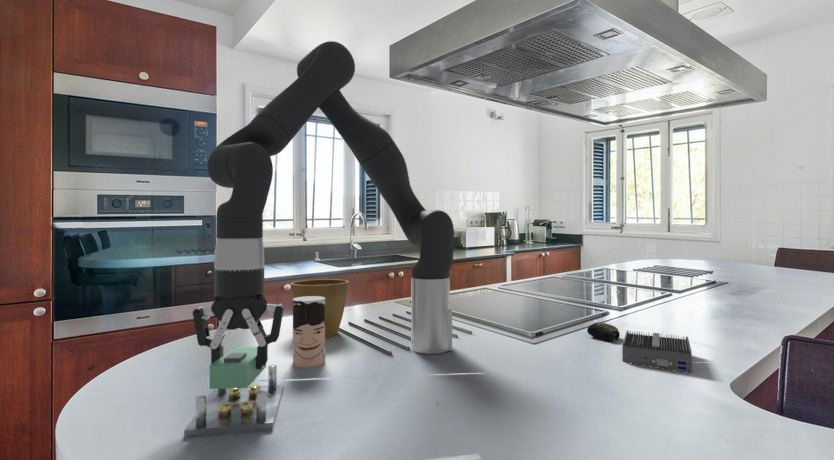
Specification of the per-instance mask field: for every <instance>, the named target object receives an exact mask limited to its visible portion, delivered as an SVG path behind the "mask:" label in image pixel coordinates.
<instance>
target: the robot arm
mask: <svg viewBox="0 0 834 460" xmlns="http://www.w3.org/2000/svg"><path fill="white" fill-rule="evenodd" d="M355 72H356V63H355V60H354V57H353V56H352V53H351V51H350V50H349V49H348V48H347V47H346V46H345V45H344V44H343V43H340V42H338V41H336V40H326V41H324V42H321V43H319V44H318V45H316V47H314V48H313V49H312V50H311V51H309V52H308V53H307V54H306V55H305V56H304V57H302V58H301V59H300V61H299V62H298V63H297V67H296V73H297V78H296V79H295V80H294V81H293V82H292V83H290V85H289V86H287V87H286V88H284V90H282V91H281V92H280V93H278V95H277V96H275V97H274V98H273V99H272V100H271V101H269V102H268V103H267V104H266V105H265V106H264V107H263V108H262V109H261V110H260V111H259V112H258V114H256V115H255V116H254V118H252V120H251V121H250V122H249V123H248V124H246V125H245V126H244V127H242V128H241V129H239V130H237V131H236V132H234V133H233V134H231V135H230V136H228V137H227V138H226V139H224V140H223V141H221V142H220V143H219V144H218V145H217V146H215V148H214V149H213V150H212V152H211V153H210V154H209V157H208V160H207V162H206V163H207V164H206V168H207V169H206V170H207V173H208V176H209V178H210V179H211V181H212V182H213V183H215V184H216V185H217V186H219V187H222V188H226V189H232V192H231V195H230V198H229V199H228V200H226V201H225V202H223V203H221V204H220V205H219V206H218V208H217V210H216V216H215V217H216V220H215V222H216V229H215V230H216V231H215V232H216V242H215V248H214V259H213V267H214V299H213V303H212V304H211V305H208V306H201V305H200V306H198V307H196V308H194V309H193V311H192V316H193V323H194V329H195V335H196V339H197V345H199V346H200V347H204V346H205V347H208V348H209V349H210V351H211V352H210V354H211V355H210V357H211V358H210V359H211V360H210V361H211V362H210V365H211V364H213V363H214V362H215V361H217V360H218V359H220V358H221V357H222V356H223V355H224V345H222V342H223V341H224V339H225V337H226V334H227V333H228V331H233V330H237V329H241V330H250V332H251V334H252V335H253V336H254V338H255V341H256V343H257V344H258V345H257V346H256V347H257V369H262V368H263V365H266V366H267V362H268V359H269V358H268V355H269V354H268V353H269V352H268V350H269V349H268V347H269V344H271V343H276V342H277V341H278V339H279V337H280V332H281V326H282V323H283V316H284V315H283V314H284V308H285V305H284V304H283V303H277V304H273V303H268V302H267V300H266V298H265V248H264V247H265V246H264V238H263V236H264V234H263V233H264V220H263V215H264V211H265V207H266V206H267V205H266V204H267V201H268V198H269V197H268V196H269V192H270V189H271V185H272V180H273V172H274V170H273V169H274V168H273V166H274V165H273V161H272V157H273V156H276V155H278V154H279V153H281V152H282V151H284V149H285V148H286V147H287V146H288V145H289V144H290V142H291V141H292V140H293V139H294V138H295V136H296V135H297V134H298V133H299V131H300V130H301V129H302V128H303V126H305V124H306V123H307V121H309V119H310V118H311V117H312V115H314V113H315V112H316V111H317V110H318V108H319V110H320V111H321V112H322V113H323V115H324V116H325V117H326V118H327V119H328V121H329V122H330V123H331V125H332V126H333V127H334V128H335V130H336V132H337V133H339V136H340V137H341V139H342V140H343V141H344V143H345V144H346V145H347V146H348V148H349V149H350V150H351V153H352V154H353V156H354V157H355V159H356V160H357V161H358V164H360V166H361V168H362V170H363V171H364V172H365V173H366V175H367V177H368V178H369V179H370V180H371V182H372V183H373V185H374V186H375V188H376V189H377V191H378V192H379V193H380V195H381V196H382V197H383V200H384V201H385V202H386V204H387V205H388V207H389V208H390V210H391V211H392V213H393V215H394V217H395V219H396V221H397V223H398V224H399V226H400V228H401V230H402V232H403V234H404V236H405V237H406V238H407V240H408V241H409V243H410V244H411V245H412V246H414V247H416V248H418V249H419V248H420V249H419V251H420V252H419V258H418V260H417V262H415V263H414V264H413V265H412V266H411V268H410V271H411V272H410V277H411V278H410V285H411V286H410V291H411V292H410V293H411V294H410V297H411V298H410V299H411V301H410V303H411V304H410V306H411V307H410V308H411V309H410V318H411V319H410V320H411V322H410V324H411V325H410V327H411V328H410V330H411V331H410V337H411V338H410V344H411V347H410V348H411V350H412V351H413V352H414V353H419V354H425V355H426V354H427V355H435V354H436V355H439V354H444V353H447V352H453V311H452V309H450V305H451V304H450V303H451V302H450V301H451V300H450V292H451V291H450V288H451V287H450V281H451V280H450V278H451V277H450V273H451V268H452V267H453V262H454V245H455V243H454V242H455V228H454V224H453V220H452V218H451V216H450V215H449V214H448V213H447V212H445V211H443V210H440V209H436V210H435V209H430V210H427V209H426V208H425V206H423V205H422V203H421V202H420V200H419V199H418V197H417V196H416V194H415V193H414V192H413V191H414V190H413V189H412V186H411V181H410V176H409V172H408V167H407V162H406V159H405V157H404V155H403V153H402V151H401V150H400V148H399V147H398V145H397V144H396V143H395V141H394V139H393V138H392V136H391V135H390V134H389V132H387V130H385V129H384V128H382V127H381V126H380V125H378V124H376V123H375V122H373V121H372V120H370V119H368V117H365V116H364V115H362V114H360V113H359V112H358V111H357V110H355V108H354V107H353V106H352V105H351V104H350V103H349V101H348V100H347V99H346V97H345V96H344V95H343V93H342V91H341V90H342V89H343V88H344V87H346V86H347V85H348V84H349V83H350V82H351V81H352V79H353V77H354V75H355ZM266 311H267V312H268V314H269V317H270V318H272V325H271V329H270V333H268V334H267V333H266V331H265V329H264V326H263V322H262V321H261V317H262V316H263V315H264V314H265V312H266ZM211 313H212V314H213V315H214V316H215V317H216V319H217V320H218V321H219V325H218V326H217V328H216V331H215V333H214V336H211V335H210V329H209V323H208V320H209V319H210V318H211Z"/></svg>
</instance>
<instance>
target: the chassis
mask: <svg viewBox="0 0 834 460" xmlns="http://www.w3.org/2000/svg"><path fill="white" fill-rule="evenodd" d="M267 368H268V369H267V370H268V372H267V373H268V375H267V377H268V378H267V379H268V380H267V381H268V385H259V384H254V385H253V384H252V385H249V386H248V387H247V388H224V389H212V391H211V393H210V394H209V395H208V397H207V395H203V394H202V395H197V396H196V397H195V415H194V416H193V418H192V419H191V420H190V422H189V423H188V425H186V427H185V429H184V430H183V438H184V439H186V438H189V439H190V438H199V437H210V436H220V435H222V436H223V435H234V434H235V435H236V434H244V433H257V432H258V433H259V432H268V431H269V432H271V431H274V427H275V422H276V419H277V415H278V412H279V408H280V403H281V400H282V396H283V392H284V388H285V384H277V383H278V382H277V381H278V380H277V369H278V367H277V365H276V364H271V365H268V367H267Z"/></svg>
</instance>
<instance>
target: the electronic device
mask: <svg viewBox="0 0 834 460" xmlns="http://www.w3.org/2000/svg"><path fill="white" fill-rule="evenodd" d="M621 345H622V348H621V349H622V354H621V355H622V362H623V363H627V364H628V363H632V364H631V365H634V364H639V365H638V366H640V365H645V366H644V367H646V366H652V367H659V368H664V369H663V370H665V369H670V370H669V371H671V370H676V371H675V372H677V371H680V372H679V373H683V372H688V373H687V374H690V373H693V372H692V371H693V369H692V368H693V367H692V364H693V363H692V361H693V359H692V357H693V356H692V351H693V350H692V347H691V345H690V339H689V336H687V335H685V336H684V335H683V337H682V336H679V335H678V336H677V334H676V335H674V334H673V336H672V334H669V333H668V335H667V333H666V334H665V336H663V333H659V332H653V333H647V332H646V334H645V333H643V332H641V331H639V332H638V331H631V330H626V332H625V335H624V337H623V340H622V344H621ZM652 367H651V368H652ZM659 368H658V369H659Z"/></svg>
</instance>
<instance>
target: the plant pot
mask: <svg viewBox="0 0 834 460" xmlns="http://www.w3.org/2000/svg"><path fill="white" fill-rule="evenodd" d="M349 283H350V282H349V280H346V279H332V278H331V279H330V278H329V279H323V278H322V279H305V280H297V281H293V282H291V283H290V284H291V290H292V291H291V292H292V296H293V299H294V298H297V297H304V296H321V297H325V339H329V338H332V337H335V336H337V335H338V333H339V330H340V327H341V325H342V323H341V322H342V320H343V316H344V312H345V307H346V302H347V297H348V296H347V295H348V289H349Z"/></svg>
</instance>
